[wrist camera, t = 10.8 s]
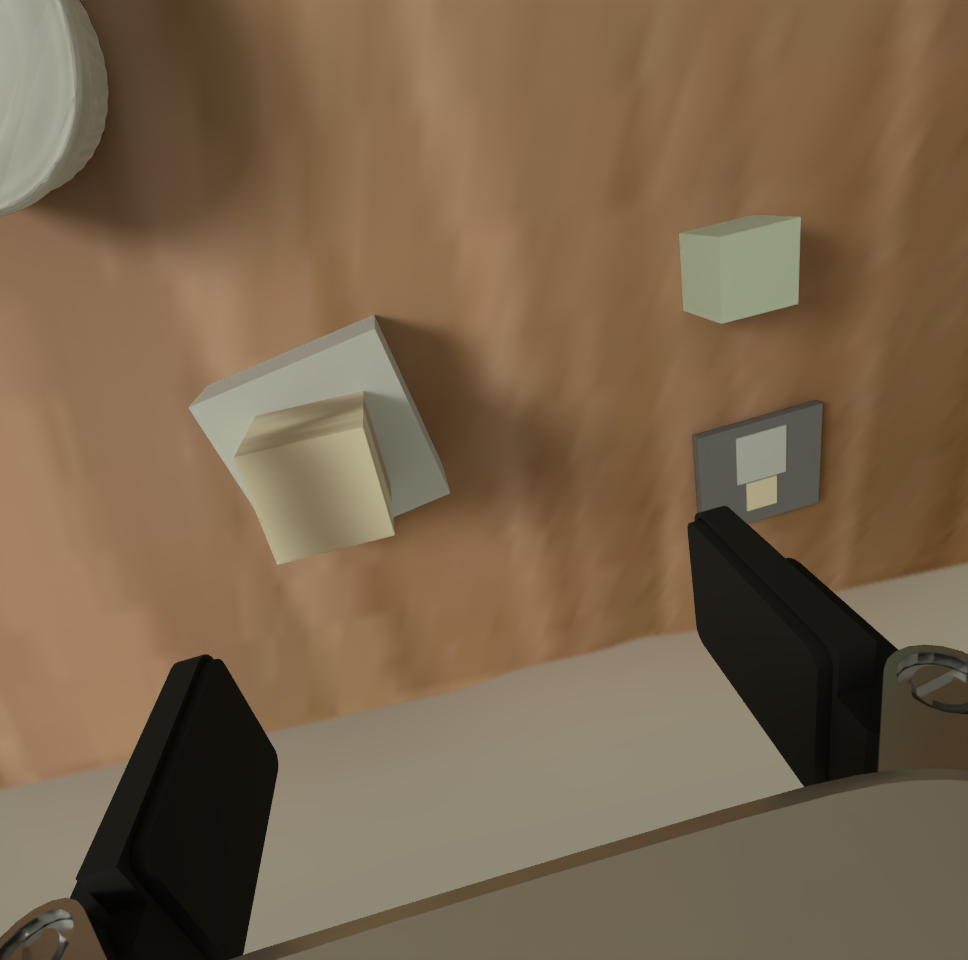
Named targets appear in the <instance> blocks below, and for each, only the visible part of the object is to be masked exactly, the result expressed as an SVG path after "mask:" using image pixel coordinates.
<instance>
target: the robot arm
mask: <svg viewBox="0 0 968 960" xmlns="http://www.w3.org/2000/svg"><path fill="white" fill-rule="evenodd" d="M688 539H689V550H690V561H691V572H692V582H693V593H694V604H695V614H696V625H697V630H698V634H699V636H700V639H701V641H702V643H703V644H704V646H705V647H706V649H707V650H708V652H709V653H710V655H711V656H712V657H713V659H714V660H715V662H716V663H717V664H718V666H719V667H720V668H721V670H722V672H723V673H724V674H725V676H726V677H727V679H728V680H729V681H730V683H731V684H732V686H733V687H734V688H735V690H736V691H737V693H738V694H739V696H740V697H741V698H742V699H743V701H744V703H745V704H746V705H747V707H748V708H749V710H750V711H751V712H752V714H753V715H754V717H755V718H756V720H757V721H758V722H759V724H760V725H761V727H762V728H763V729H764V731H765V732H766V734H767V735H768V736H769V738H770V739H771V741H772V742H773V744H774V745H775V746H776V748H777V749H778V751H779V752H780V753H781V755H782V756H783V758H784V759H785V761H786V762H787V763H788V765H789V766H790V768H791V769H792V770H793V772H794V773H795V775H796V776H797V778H798V779H799V780H800V782H801V783H802V784H803V785H804V787H803V788H799V789H796V790H792V791H788V792H785V793H781V794H778V795H774V796H770V797H767V798H763V799H759V800H756V801H752V802H749V803H745V804H741V805H738V806H734V807H731V808H727V809H723V810H720V811H716V812H713V813H710V814H706V815H703V816H700V817H696V818H693V819H689V820H686V821H683V822H679V823H676V824H672V825H669V826H666V827H663V828H659V829H656V830H652V831H649V832H645V833H642V834H639V835H635V836H632V837H628V838H625V839H622V840H618V841H615V842H612V843H608V844H605V845H601V846H598V847H595V848H591V849H588V850H585V851H581V852H578V853H574V854H571V855H568V856H564V857H561V858H558V859H555V860H551V861H548V862H545V863H541V864H538V865H535V866H531V867H528V868H525V869H521V870H518V871H515V872H512V873H508V874H505V875H501V876H498V877H495V878H492V879H488V880H485V881H482V882H478V883H475V884H472V885H468V886H465V887H462V888H459V889H455V890H452V891H449V892H445V893H442V894H439V895H436V896H432V897H429V898H425V899H422V900H419V901H416V902H412V903H409V904H406V905H402V906H399V907H396V908H393V909H390V910H386V911H383V912H380V913H377V914H373V915H370V916H367V917H364V918H360V919H358V920H354V921H351V922H348V923H344V924H341V925H338V926H334V927H332V928H328V929H325V930H321V931H318V932H315V933H312V934H308V935H305V936H302V937H299V938H295V939H292V940H289V941H286V942H283V943H280V944H276V945H273V946H270V947H266V948H263V949H260V950H257V951H254V952H251V953H248V954H245V955H243V952H244V947H245V941H246V937H247V931H248V926H249V920H250V915H251V910H252V905H253V900H254V894H255V889H256V884H257V878H258V873H259V868H260V863H261V857H262V852H263V847H264V841H265V836H266V831H267V825H268V820H269V815H270V809H271V804H272V799H273V794H274V788H275V783H276V778H277V772H278V758H277V754H276V751H275V749H274V747H273V746H272V744H271V742H270V741H269V739H268V737H267V735H266V734H265V732H264V730H263V729H262V727H261V725H260V723H259V722H258V720H257V718H256V717H255V715H254V713H253V712H252V710H251V708H250V706H249V705H248V703H247V701H246V700H245V698H244V696H243V695H242V693H241V691H240V689H239V688H238V686H237V684H236V683H235V681H234V679H233V678H232V676H231V674H230V672H229V671H228V669H227V667H226V666H225V664H224V663H223V661H222V660H220V659H215V660H214V659H213V658H212V657H211V656H210V655H206V654H205V655H201V656H198V657H194V658H191V659H187V660H184V661H180V662H177V663H176V664H174V665H173V667H172V668H171V670H170V673H169V675H168V677H167V679H166V681H165V684H164V686H163V688H162V690H161V692H160V695H159V697H158V699H157V701H156V703H155V705H154V708H153V710H152V712H151V714H150V716H149V719H148V721H147V723H146V725H145V727H144V730H143V732H142V734H141V736H140V738H139V741H138V743H137V745H136V747H135V749H134V752H133V754H132V756H131V758H130V760H129V763H128V765H127V767H126V769H125V772H124V774H123V776H122V778H121V780H120V782H119V785H118V787H117V789H116V791H115V793H114V796H113V798H112V800H111V802H110V804H109V807H108V809H107V811H106V813H105V815H104V817H103V820H102V822H101V824H100V826H99V828H98V831H97V833H96V835H95V837H94V840H93V842H92V844H91V846H90V848H89V851H88V853H87V855H86V857H85V859H84V862H83V864H82V866H81V868H80V870H79V872H78V875H77V877H76V880H77V883H76V886H75V888H74V890H73V892H72V895H71V897H70V899H69V898H62V899H58V900H53V901H50V902H48V903H46V904H44V905H42V906H40V907H38V908H36V909H34V910H32V911H31V912H30V913H28V914H27V915H25V916H24V917H23V918H21V919H20V920H19V921H17V922H16V923H15V924H14V925H13V926H12V927H11V928H10V929H9V930H8V931H7V932H6V933H5V934H4V935H3V936H1V937H0V960H968V654H966V653H964V652H962V651H958V650H955V649H951V648H947V647H943V646H933V645H918V646H908V647H906V648H903V649H901V650H898V649H897V648H896V647H894V646H893V645H892V644H891V643H890V642H889V641H888V640H887V639H885V638H884V637H883V636H882V635H881V634H880V633H879V632H877V631H876V630H875V629H874V628H873V627H872V626H871V625H870V624H868V623H867V622H866V621H865V620H864V619H863V618H862V617H861V616H859V615H858V614H857V613H856V612H855V611H854V610H852V609H851V608H850V607H849V606H848V605H847V604H846V603H845V602H844V601H842V600H841V599H840V598H839V597H838V596H837V595H836V594H835V593H833V592H832V591H831V590H830V589H829V588H828V587H827V586H826V585H824V584H823V583H822V582H821V581H820V580H819V579H818V578H817V577H815V576H814V575H813V574H812V573H811V572H810V571H809V570H807V569H806V568H805V567H804V566H803V565H802V564H801V563H799V562H798V561H796V560H795V559H792V558H786V559H785V558H784V557H783V556H782V555H781V554H780V553H779V552H778V551H777V550H775V549H774V548H773V547H772V546H771V545H770V544H769V543H768V542H767V541H765V540H764V539H763V538H762V537H761V536H760V535H759V534H758V533H757V532H756V531H754V530H753V529H752V528H751V527H750V526H749V525H748V524H747V523H746V522H745V521H743V520H742V519H741V518H740V517H739V516H738V515H737V514H736V513H735V512H734V511H732V510H731V509H730V508H729V507H727V506H720V507H717V508H713V509H710V510H706V511H703V512H700V513H697V514H696V515H695V522H692V523H689V524H688Z"/></svg>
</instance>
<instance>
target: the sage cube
mask: <svg viewBox="0 0 968 960" xmlns="http://www.w3.org/2000/svg"><path fill="white" fill-rule="evenodd" d="M800 225H801V217H791V216H760V215H751V216H747V217H743V218H739V219H735V220H731V221H727V222H722V223H718V224H714V225H710V226H706V227H702V228H698V229H694V230H690V231H686V232H682V233H679V238H680V256H681V274H682V292H683V310H684V311H686V312H689V313H691V314H694V315H697V316H700V317H703V318H706V319H709V320H712V321H715V322H718V323H721V324H723V323H727V322H731V321H735V320H738V319H742V318H746V317H750V316H754V315H758V314H762V313H765V312H769V311H773V310H777V309H781V308H785V307H788V306H792V305H796V304H798V293H799V259H800Z"/></svg>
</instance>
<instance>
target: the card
mask: <svg viewBox="0 0 968 960" xmlns="http://www.w3.org/2000/svg"><path fill="white" fill-rule="evenodd" d="M822 409H823V403H821V402H819V401H817V400H815V401H812V402H808V403H805V404H801V405H798V406H794V407H791V408H787V409H784V410H780V411H777V412H773V413H770V414H766V415H763V416H759V417H756V418H752V419H749V420H745V421H742V422H738V423H735V424H731V425H728V426H724V427H721V428H717V429H713V430H710V431H706V432H703V433H699V434H696V435H693V448H694V463H695V478H696V493H697V508H698V513H700V512H703V511H706V510H710V509H713V508H717V507H720V506H727V507H729V508H730V509H731V510H732V511H734V512H735V513H736V514H737V515H738V516H739V517H740V518H741V519H742V520H743V521H745V522H746V523H747V524H748V523H751V522H754V521H758V520H761V519H765V518H768V517H771V516H775V515H778V514H781V513H785V512H788V511H792V510H795V509H798V508H802V507H805V506H808V505H812V504H815V503H819V482H820V458H821V434H822Z"/></svg>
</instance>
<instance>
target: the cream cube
mask: <svg viewBox="0 0 968 960" xmlns="http://www.w3.org/2000/svg"><path fill="white" fill-rule="evenodd" d="M234 460H235V462H236V465H237V467H238V470H239V472H240V475H241V477H242V480H243V482H244V484H245V487H246V489H247V492H248V494H249V497H250V499H251V501H252V504H253V506H254V509H255V511H256V514H257V516H258V519H259V521H260V523H261V526H262V528H263V531H264V533H265V536H266V538H267V540H268V543H269V545H270V548H271V550H272V553H273V555H274V558H275V560H276V562H277V565H279V564H283V563H287V562H290V561H294V560H298V559H302V558H306V557H310V556H314V555H318V554H322V553H326V552H330V551H334V550H338V549H342V548H346V547H350V546H354V545H358V544H362V543H366V542H370V541H374V540H378V539H382V538H386V537H390V536H394V535H395V532H394V520H393V508H392V497H391V485H390V482H389V478H388V475H387V471H386V468H385V464H384V461H383V457H382V454H381V450H380V447H379V443H378V440H377V436H376V433H375V429H374V426H373V422H372V419H371V415H370V412H369V408H368V405H367V401H366V398H365V395H364V391H361V392H356V393H352V394H348V395H343V396H339V397H335V398H330V399H326V400H322V401H317V402H313V403H309V404H304V405H300V406H296V407H291V408H287V409H283V410H278V411H274V412H270V413H265V414H261V415H257V416H255V418H254V419H253V421H252V423H251V425H250V427H249V429H248V431H247V433H246V435H245V437H244V439H243V440H242V442H241V444H240V446H239V448H238V450H237V452H236V454H235V456H234Z"/></svg>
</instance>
